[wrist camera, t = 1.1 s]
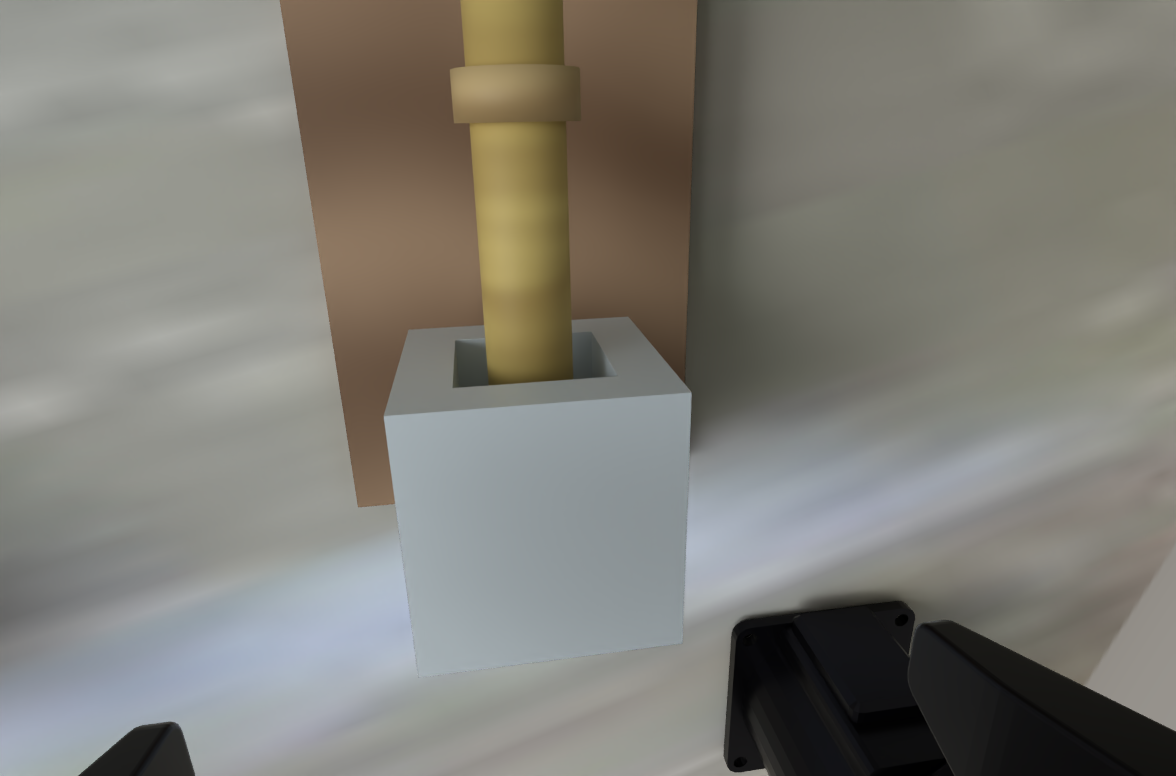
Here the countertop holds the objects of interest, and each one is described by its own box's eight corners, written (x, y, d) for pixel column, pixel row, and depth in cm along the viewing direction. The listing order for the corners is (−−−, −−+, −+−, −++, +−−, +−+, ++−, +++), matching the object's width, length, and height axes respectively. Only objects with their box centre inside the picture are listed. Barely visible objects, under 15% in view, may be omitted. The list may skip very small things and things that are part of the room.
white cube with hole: (628, 511, 17) (682, 643, 13) (431, 531, 17) (418, 677, 12) (628, 316, 16) (691, 392, 11) (409, 329, 15) (383, 415, 11)
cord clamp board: (670, 458, 21) (770, 623, 14) (364, 485, 20) (308, 682, 13) (690, -305, 15) (890, -691, 8) (241, -336, 14) (-3, -833, 7)
